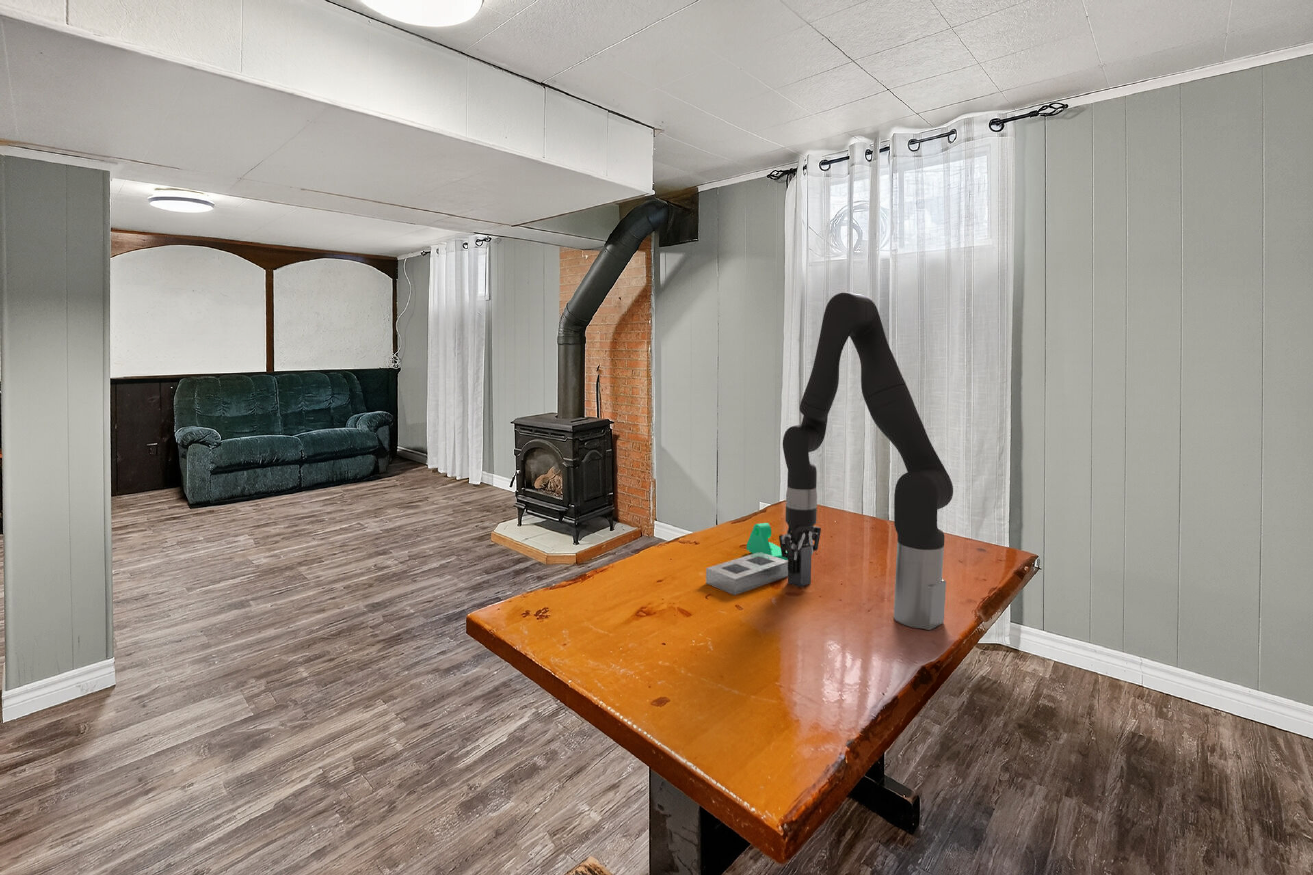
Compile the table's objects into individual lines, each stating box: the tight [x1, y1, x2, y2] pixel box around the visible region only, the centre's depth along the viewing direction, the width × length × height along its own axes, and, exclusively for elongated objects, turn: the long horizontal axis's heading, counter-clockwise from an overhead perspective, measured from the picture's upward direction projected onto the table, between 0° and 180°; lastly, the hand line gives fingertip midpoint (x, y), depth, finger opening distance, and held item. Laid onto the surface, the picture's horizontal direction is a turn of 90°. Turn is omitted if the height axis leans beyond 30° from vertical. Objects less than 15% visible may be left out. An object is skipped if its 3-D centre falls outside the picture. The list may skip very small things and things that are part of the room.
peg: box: [787, 544, 813, 589], centre depth 157 cm, size 4×4×10 cm
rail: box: [705, 552, 788, 596], centre depth 160 cm, size 10×20×4 cm, turn 129°
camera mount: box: [746, 522, 788, 561], centre depth 177 cm, size 12×8×10 cm, turn 20°
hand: (799, 570), depth 157 cm, fingers open, 5 cm apart
